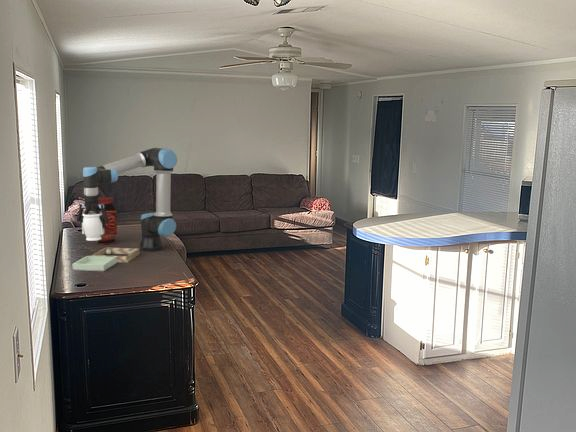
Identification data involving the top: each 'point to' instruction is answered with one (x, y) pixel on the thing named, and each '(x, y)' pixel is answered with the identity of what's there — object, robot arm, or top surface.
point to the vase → (111, 224)
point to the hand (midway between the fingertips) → (93, 233)
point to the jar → (92, 226)
